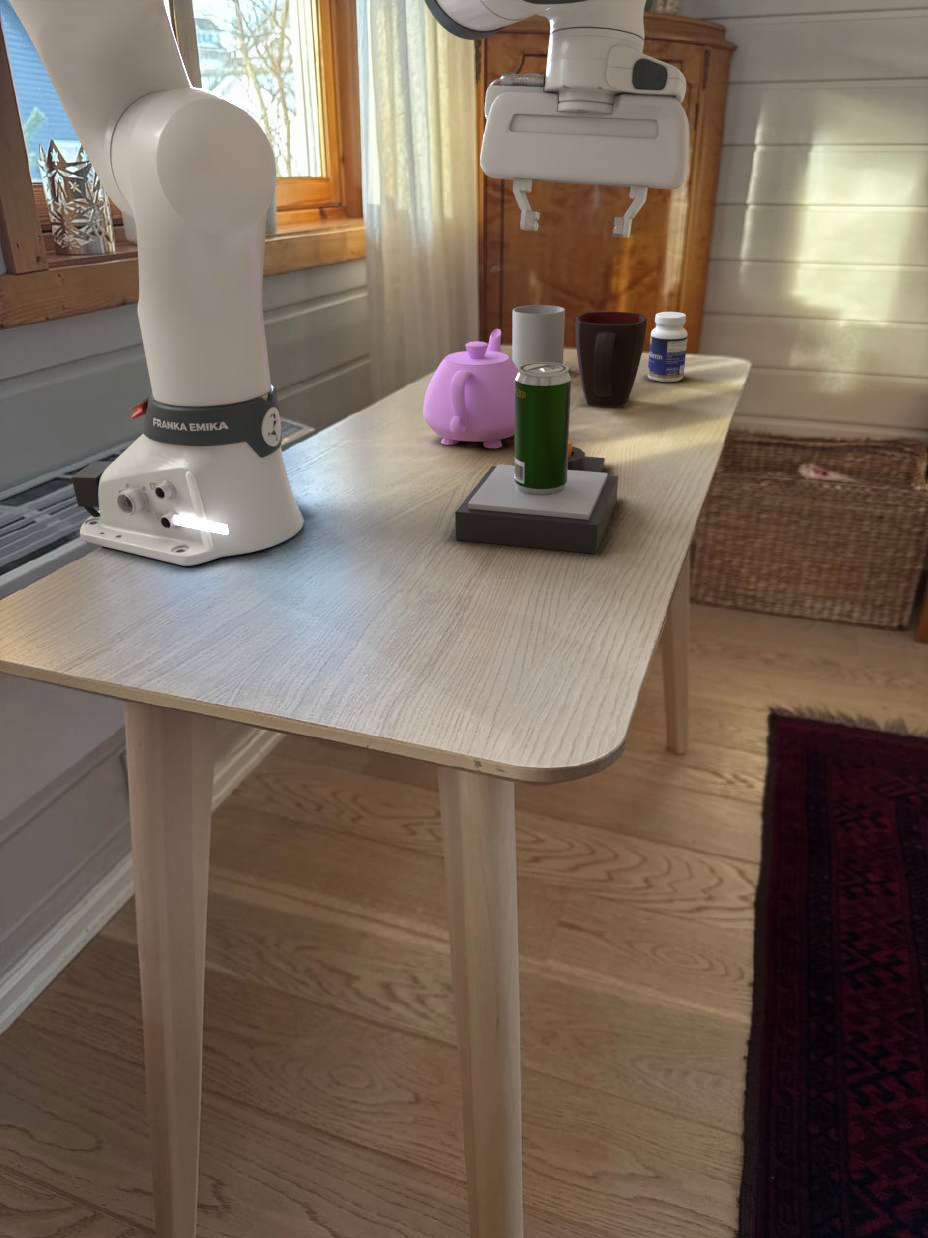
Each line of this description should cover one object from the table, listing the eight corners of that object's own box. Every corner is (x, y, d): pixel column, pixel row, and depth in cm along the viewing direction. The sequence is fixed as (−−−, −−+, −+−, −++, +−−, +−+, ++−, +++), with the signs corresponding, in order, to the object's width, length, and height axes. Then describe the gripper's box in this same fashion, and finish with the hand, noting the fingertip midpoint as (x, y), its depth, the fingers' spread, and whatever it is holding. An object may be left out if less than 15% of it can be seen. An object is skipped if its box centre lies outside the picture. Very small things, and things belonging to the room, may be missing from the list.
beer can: (535, 500, 88) (538, 377, 82) (503, 484, 92) (504, 366, 86) (577, 488, 91) (583, 369, 85) (545, 474, 95) (548, 359, 89)
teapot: (452, 411, 130) (450, 324, 124) (548, 417, 126) (550, 328, 120) (403, 453, 113) (398, 355, 107) (512, 463, 109) (513, 361, 103)
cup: (571, 369, 151) (573, 307, 146) (548, 380, 145) (550, 315, 140) (527, 364, 155) (527, 303, 150) (503, 374, 149) (503, 311, 144)
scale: (455, 539, 89) (454, 505, 87) (491, 491, 101) (491, 460, 99) (596, 554, 85) (597, 519, 84) (616, 502, 97) (618, 470, 95)
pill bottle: (640, 376, 146) (645, 312, 141) (672, 372, 147) (678, 309, 143) (657, 384, 141) (663, 318, 136) (690, 381, 143) (696, 315, 138)
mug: (643, 394, 136) (649, 312, 130) (635, 420, 124) (641, 331, 118) (577, 391, 138) (581, 310, 132) (563, 417, 126) (566, 329, 120)
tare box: (502, 489, 101) (502, 463, 100) (522, 460, 110) (523, 437, 108) (590, 496, 99) (591, 470, 97) (604, 467, 107) (605, 442, 106)
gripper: (478, 65, 85) (466, 224, 90) (697, 71, 79) (672, 240, 85) (496, 78, 90) (484, 227, 95) (702, 85, 85) (678, 242, 90)
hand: (574, 233), depth 90 cm, fingers open, 8 cm apart
